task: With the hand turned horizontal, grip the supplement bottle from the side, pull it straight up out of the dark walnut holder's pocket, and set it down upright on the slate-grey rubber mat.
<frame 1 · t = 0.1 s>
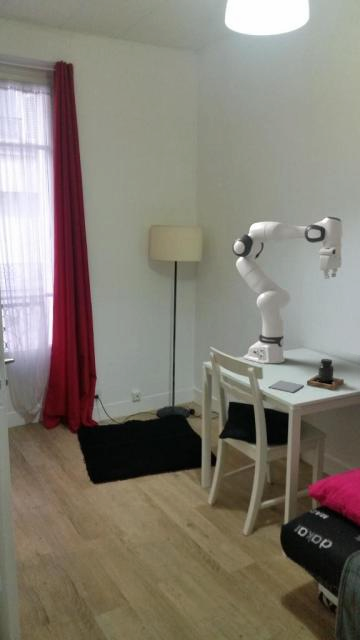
hand: (330, 277, 267), 48 cm above the table, tool pointing down, fingers open, 8 cm apart
grey mat: (286, 387, 249), on the table
supplement bottle: (325, 384, 253), resting in walnut holder
walnut holder: (325, 384, 253), on the table
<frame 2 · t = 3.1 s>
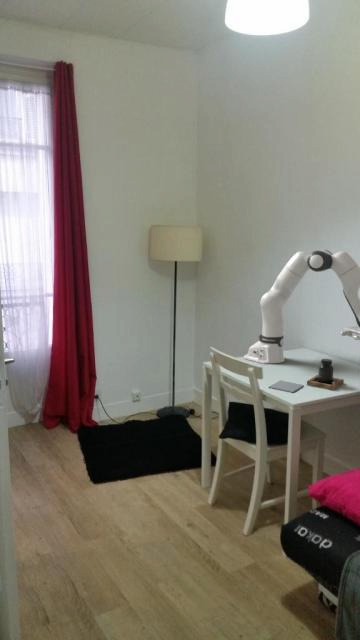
hand: (348, 336, 253), 22 cm above the table, tool horizontal, fingers open, 8 cm apart
nothing on the table moved.
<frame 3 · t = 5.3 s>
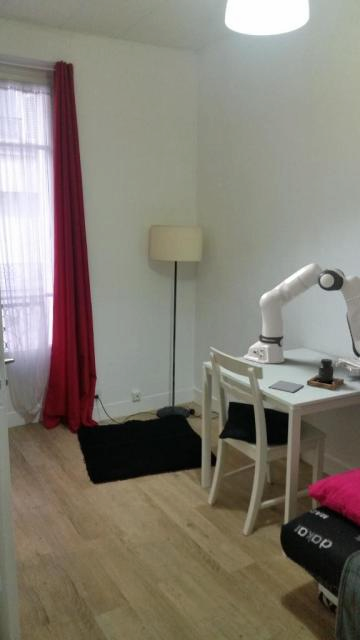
hand: (343, 367, 256), 7 cm above the table, tool horizontal, fingers open, 8 cm apart
nothing on the table moved.
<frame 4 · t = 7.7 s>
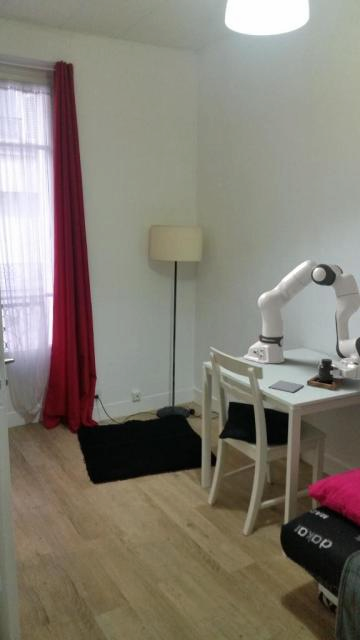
hand: (324, 370, 251), 7 cm above the table, tool horizontal, fingers closed on supplement bottle, 7 cm apart
supplement bottle: (325, 384, 253), resting in walnut holder, touching gripper
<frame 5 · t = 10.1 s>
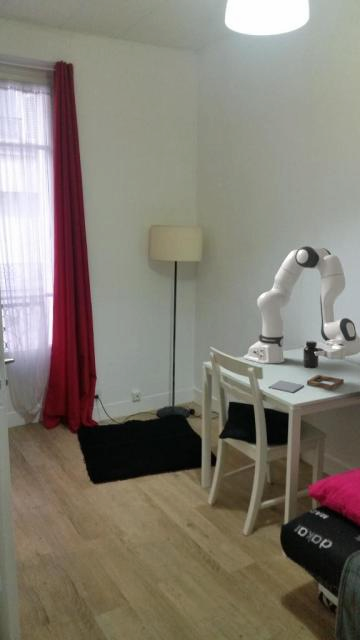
hand: (309, 351, 248), 17 cm above the table, tool horizontal, fingers closed on supplement bottle, 6 cm apart
supplement bottle: (310, 367, 249), point 9 cm above the table, touching gripper
when the fingers open (9 cm above the table, at t = 12.9 s): supplement bottle moves 1 cm, resting on grey mat.
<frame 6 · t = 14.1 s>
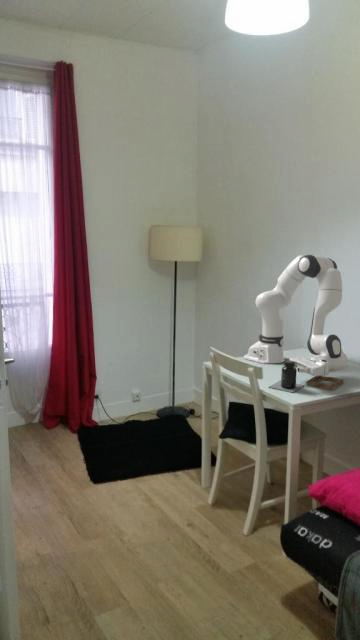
hand: (292, 367, 248), 9 cm above the table, tool horizontal, fingers open, 8 cm apart
supplement bottle: (288, 387, 247), point 1 cm above the table, touching grey mat
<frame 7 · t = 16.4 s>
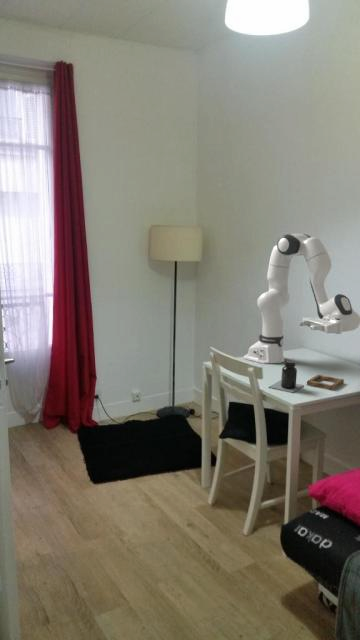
hand: (305, 326, 247), 28 cm above the table, tool horizontal, fingers open, 8 cm apart
nothing on the table moved.
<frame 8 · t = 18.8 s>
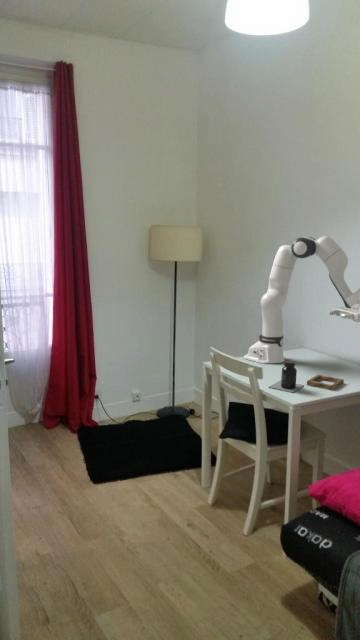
hand: (336, 314, 255), 32 cm above the table, tool horizontal, fingers open, 8 cm apart
nothing on the table moved.
at the end: supplement bottle inside the target area on the grey mat (1.7 cm from its centre), point 0.4 cm above the grey mat's base; supplement bottle tilted 1°; the gripper is holding nothing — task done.
